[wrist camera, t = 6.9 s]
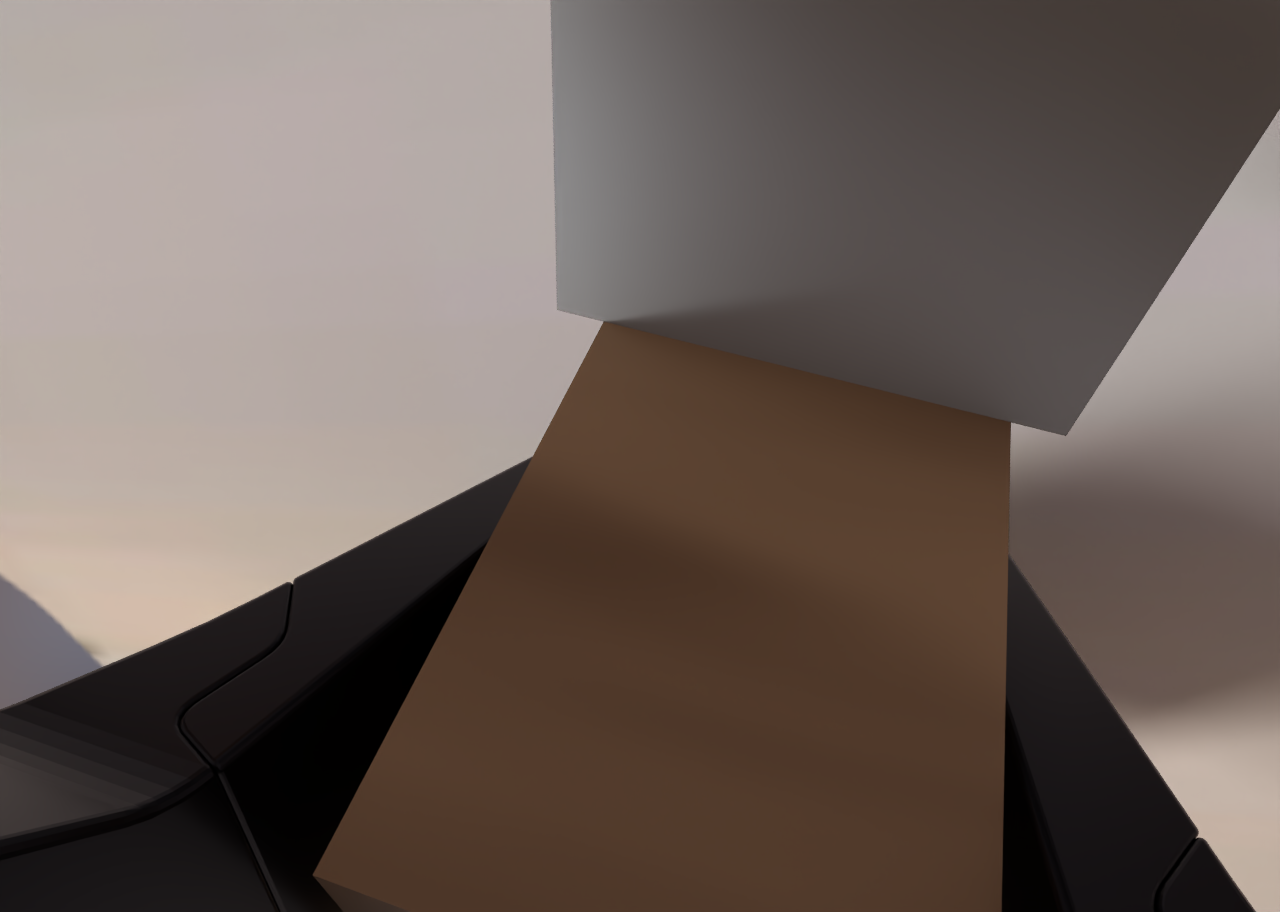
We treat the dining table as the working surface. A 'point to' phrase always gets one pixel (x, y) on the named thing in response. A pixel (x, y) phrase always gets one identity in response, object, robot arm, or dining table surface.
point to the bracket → (796, 446)
